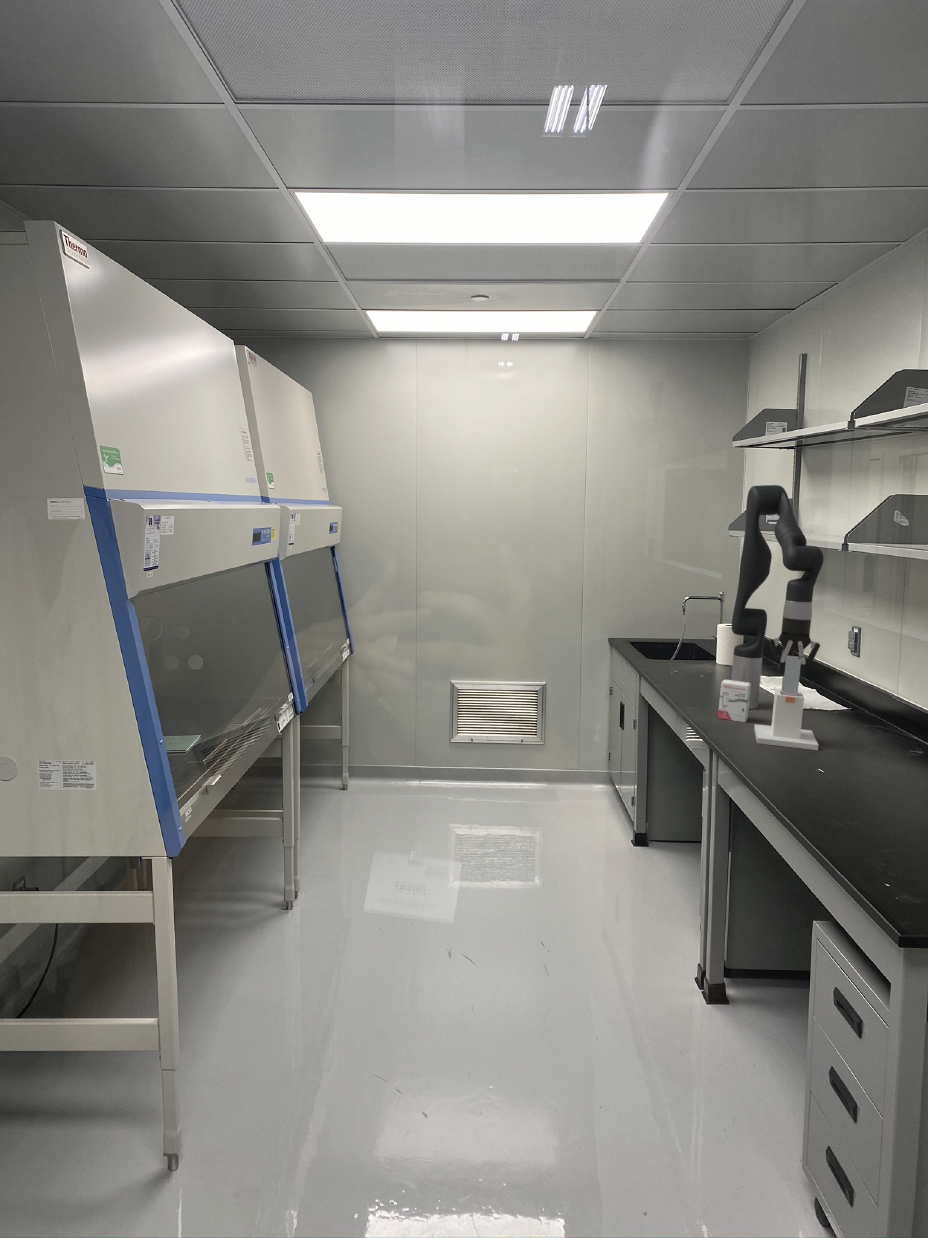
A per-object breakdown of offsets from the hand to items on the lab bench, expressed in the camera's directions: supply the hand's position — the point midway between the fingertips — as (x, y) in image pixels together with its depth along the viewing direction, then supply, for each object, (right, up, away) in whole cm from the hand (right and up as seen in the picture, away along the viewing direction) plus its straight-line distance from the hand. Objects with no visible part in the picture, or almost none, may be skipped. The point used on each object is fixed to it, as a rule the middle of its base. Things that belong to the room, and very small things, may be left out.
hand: (791, 675), depth 233 cm
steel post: (-1, -16, +2) cm, 17 cm away
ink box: (-9, -16, +24) cm, 30 cm away
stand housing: (-1, -19, +3) cm, 19 cm away
